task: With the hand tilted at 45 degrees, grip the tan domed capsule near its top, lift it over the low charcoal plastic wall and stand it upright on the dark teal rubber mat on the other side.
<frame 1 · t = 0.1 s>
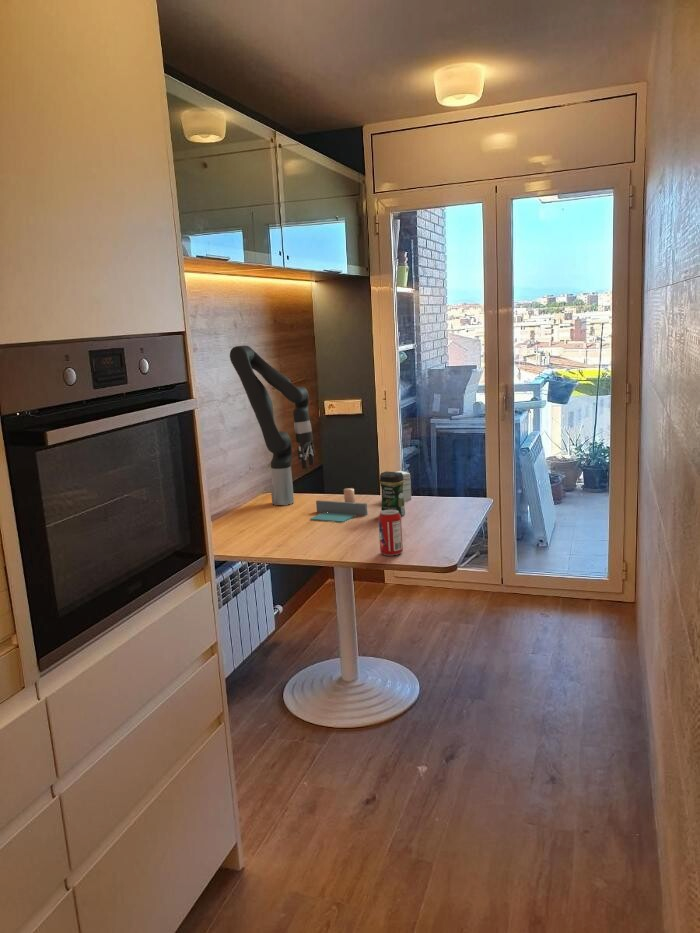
hand: (308, 466, 331), 17 cm above the table, tool pointing down, fingers open, 8 cm apart
tan domed capsule: (350, 509, 320), on the table
coffee jar: (393, 516, 304), on the table
soda can: (391, 554, 253), on the table
low wall: (341, 513, 313), on the table
teal mat: (333, 518, 307), on the table
supplement box: (400, 500, 330), on the table
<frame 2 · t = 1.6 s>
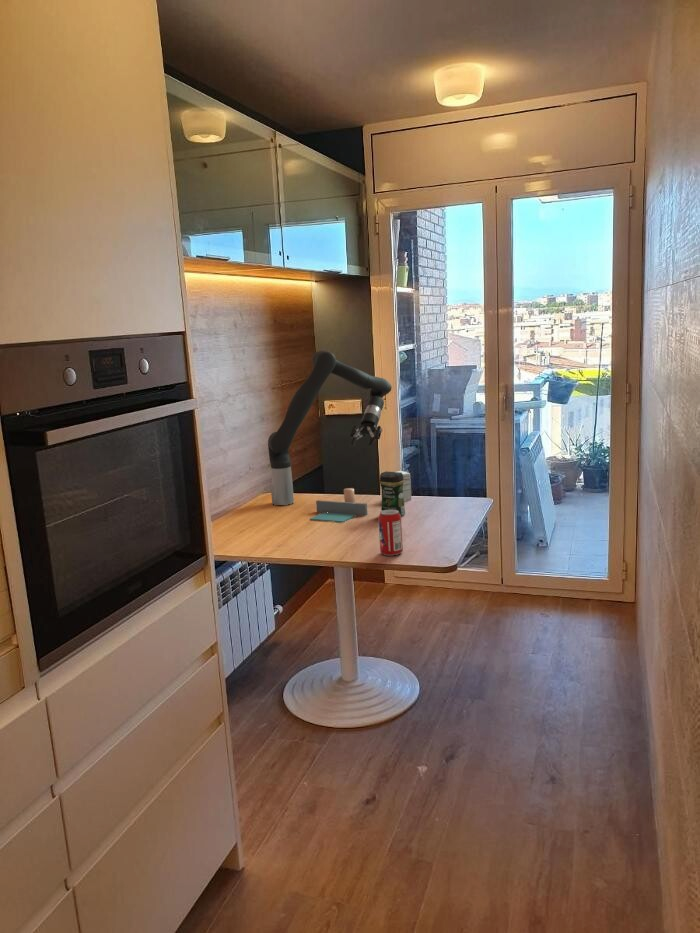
hand: (361, 445, 329), 25 cm above the table, tool tilted 45°, fingers open, 8 cm apart
nothing on the table moved.
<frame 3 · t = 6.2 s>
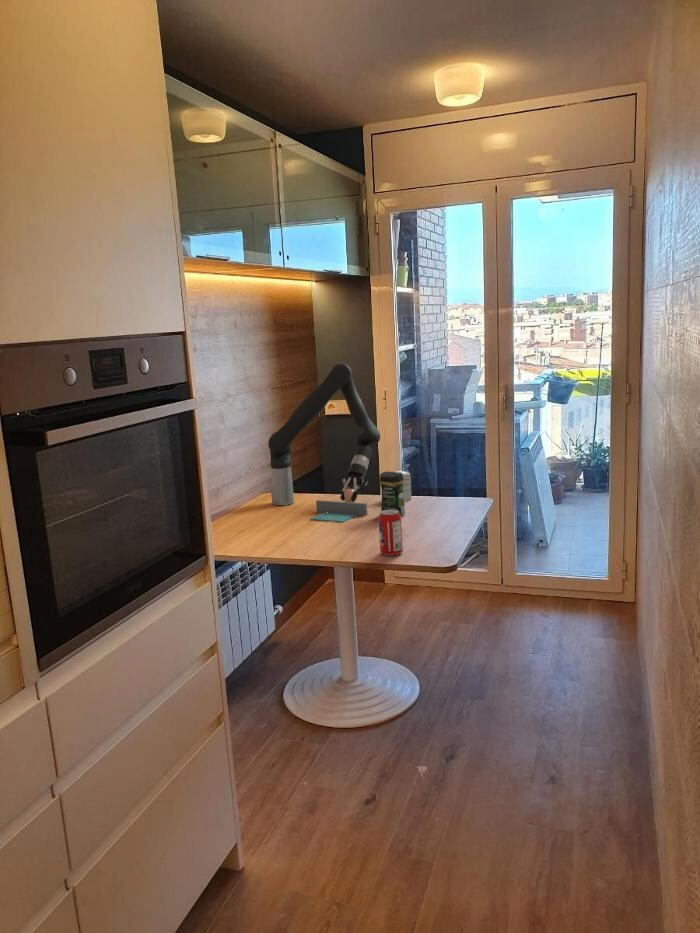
hand: (347, 500, 317), 5 cm above the table, tool tilted 45°, fingers closed on tan domed capsule, 4 cm apart
tan domed capsule: (350, 509, 320), on the table, touching gripper
everything else where it was.
when the fingers open (6 cm above the table, at t = 12.4 s): tan domed capsule drops 1 cm, resting on teal mat.
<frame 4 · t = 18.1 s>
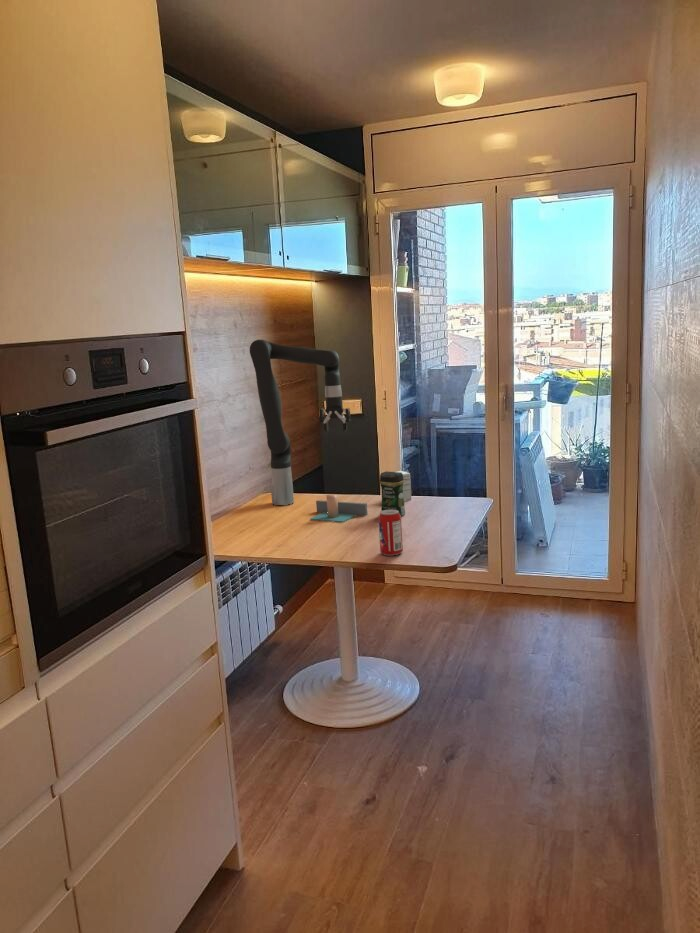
hand: (336, 431, 332), 32 cm above the table, tool pointing down, fingers open, 8 cm apart
tan domed capsule: (333, 516, 307), point 1 cm above the table, touching teal mat
everything else where it was.
at the end: tan domed capsule inside the target area on the teal mat (0.1 cm from its centre), point 0.6 cm above the teal mat's base; tan domed capsule tilted 0°; the gripper is holding nothing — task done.
